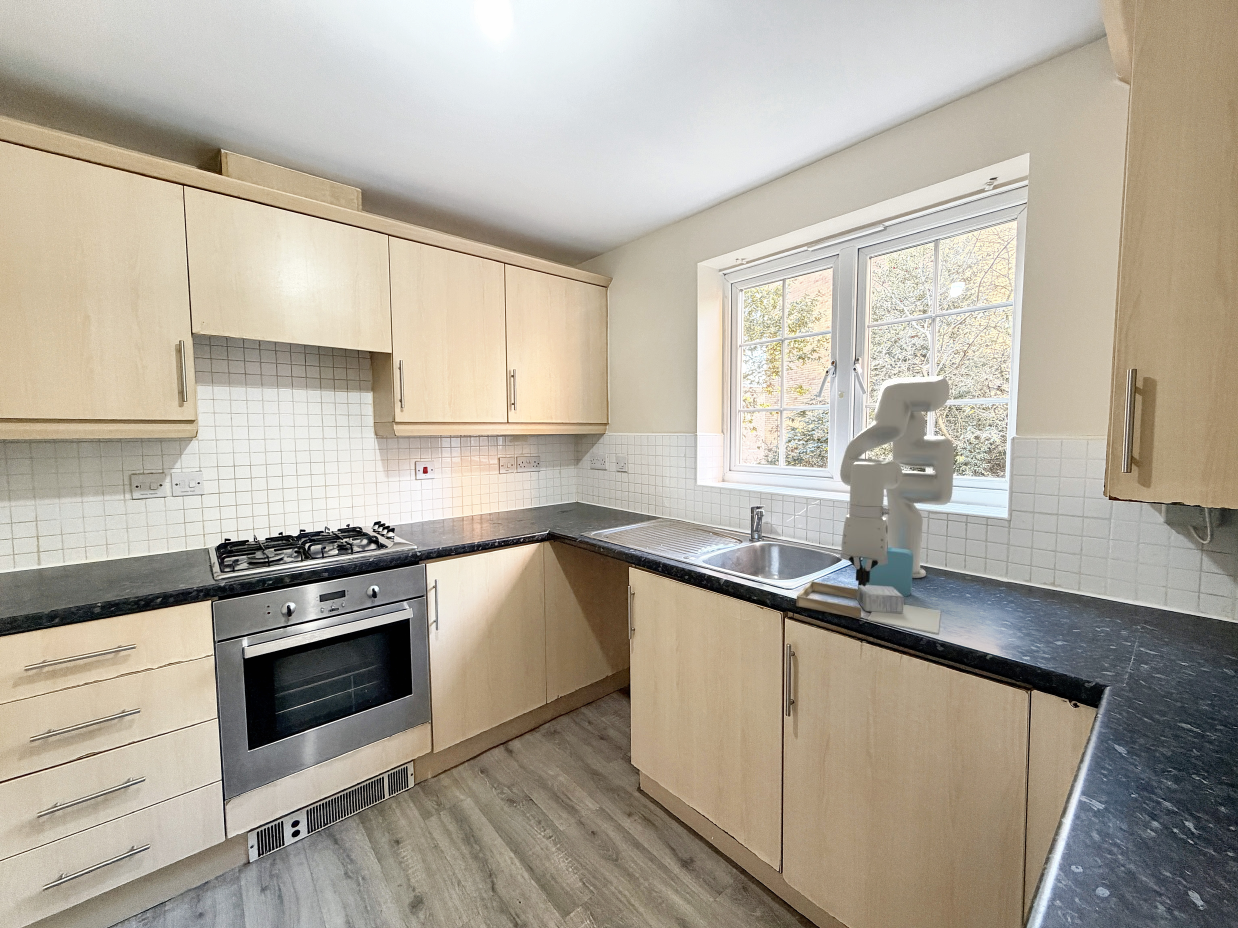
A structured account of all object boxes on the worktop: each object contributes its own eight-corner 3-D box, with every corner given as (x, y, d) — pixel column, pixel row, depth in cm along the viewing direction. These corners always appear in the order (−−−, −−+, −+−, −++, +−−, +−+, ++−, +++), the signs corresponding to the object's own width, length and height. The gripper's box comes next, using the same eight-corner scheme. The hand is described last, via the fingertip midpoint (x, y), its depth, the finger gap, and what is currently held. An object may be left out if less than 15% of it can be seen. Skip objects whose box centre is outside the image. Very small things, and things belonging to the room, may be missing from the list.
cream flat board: (877, 600, 135) (877, 599, 135) (940, 611, 127) (940, 610, 127) (868, 620, 121) (868, 619, 121) (938, 634, 114) (938, 632, 114)
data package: (911, 593, 141) (913, 550, 140) (910, 598, 137) (912, 553, 136) (863, 585, 148) (865, 544, 147) (861, 589, 144) (862, 547, 143)
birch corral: (810, 589, 143) (811, 580, 143) (869, 600, 135) (870, 590, 135) (796, 605, 131) (796, 596, 131) (860, 618, 123) (861, 608, 122)
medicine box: (864, 611, 126) (903, 614, 125) (865, 593, 126) (904, 596, 124) (856, 600, 134) (893, 603, 132) (857, 583, 134) (894, 586, 132)
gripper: (901, 512, 126) (897, 585, 128) (836, 506, 135) (833, 575, 136) (898, 517, 120) (894, 594, 122) (830, 510, 128) (827, 583, 130)
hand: (862, 584), depth 129 cm, fingers closed
